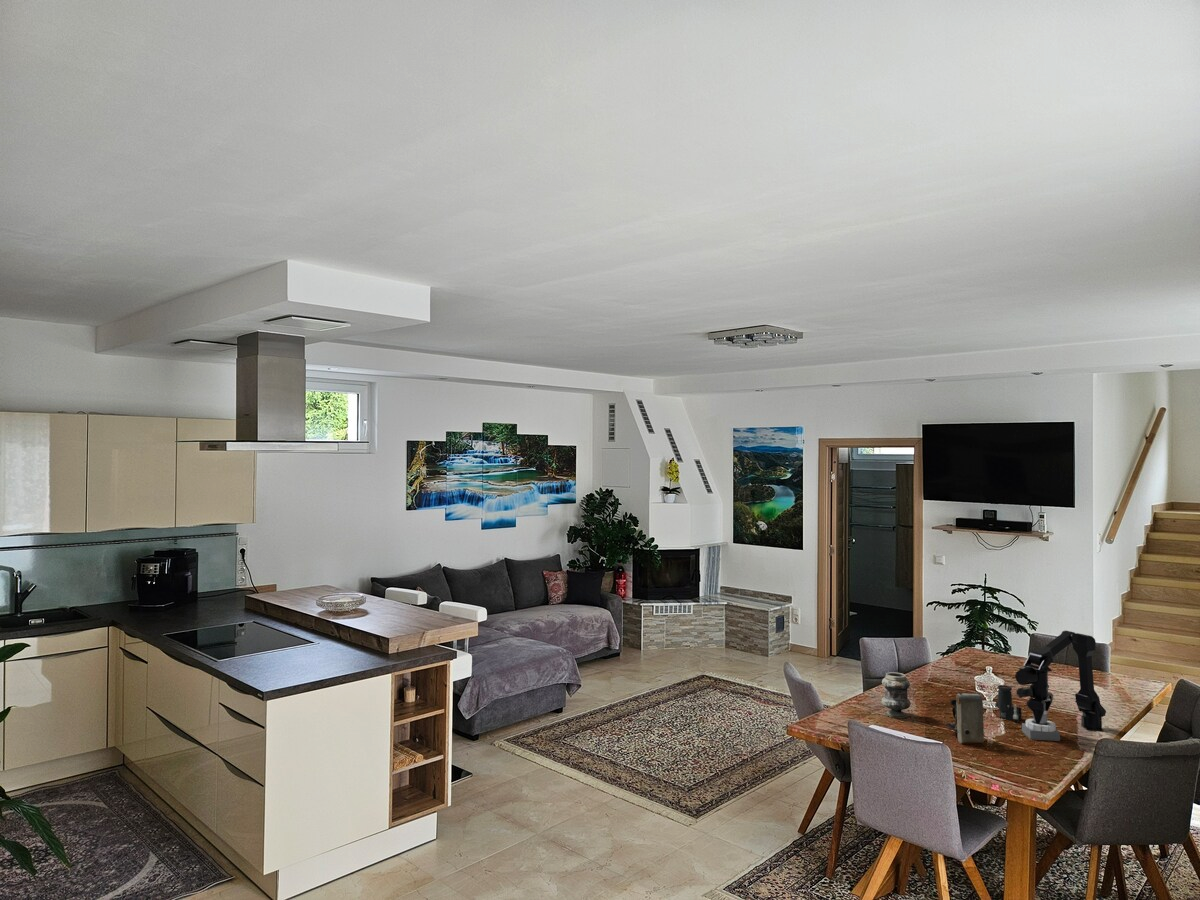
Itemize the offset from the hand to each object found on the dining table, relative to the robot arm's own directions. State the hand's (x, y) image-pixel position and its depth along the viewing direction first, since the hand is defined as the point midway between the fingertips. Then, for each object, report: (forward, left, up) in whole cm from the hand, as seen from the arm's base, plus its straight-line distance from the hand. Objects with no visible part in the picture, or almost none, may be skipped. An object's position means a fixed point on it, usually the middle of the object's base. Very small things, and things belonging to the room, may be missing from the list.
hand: (1040, 720), depth 323 cm
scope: (+6, -21, -6) cm, 23 cm away
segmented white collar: (0, 0, -6) cm, 6 cm away
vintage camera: (+32, +9, -6) cm, 34 cm away
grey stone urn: (+53, -18, -6) cm, 57 cm away
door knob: (0, 0, -3) cm, 3 cm away
